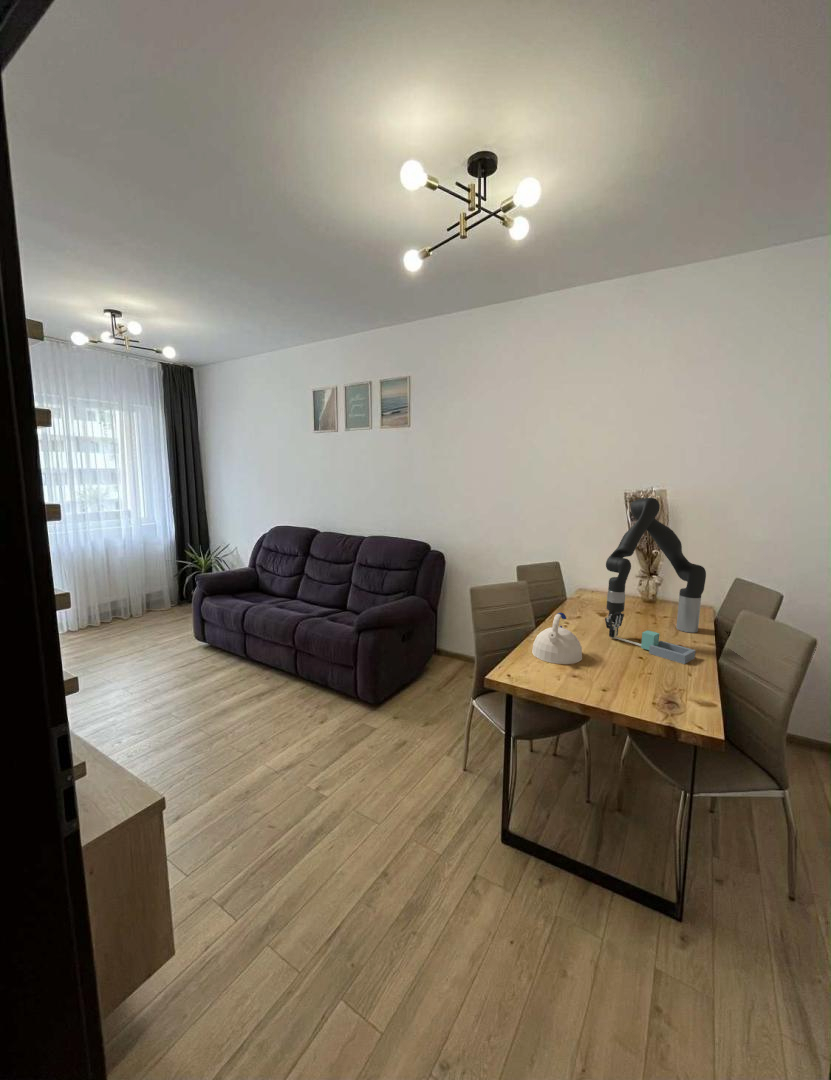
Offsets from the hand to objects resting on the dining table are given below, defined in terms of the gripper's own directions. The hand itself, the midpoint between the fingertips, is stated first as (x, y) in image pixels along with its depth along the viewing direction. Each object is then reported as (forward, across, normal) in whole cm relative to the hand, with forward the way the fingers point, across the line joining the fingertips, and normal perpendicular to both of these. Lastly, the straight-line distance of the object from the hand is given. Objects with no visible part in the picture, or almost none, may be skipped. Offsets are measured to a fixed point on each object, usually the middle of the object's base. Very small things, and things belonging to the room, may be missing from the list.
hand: (613, 636), depth 208 cm
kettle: (+2, +38, -5) cm, 38 cm away
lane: (+1, 0, +26) cm, 26 cm away
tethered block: (+1, 0, +9) cm, 9 cm away
